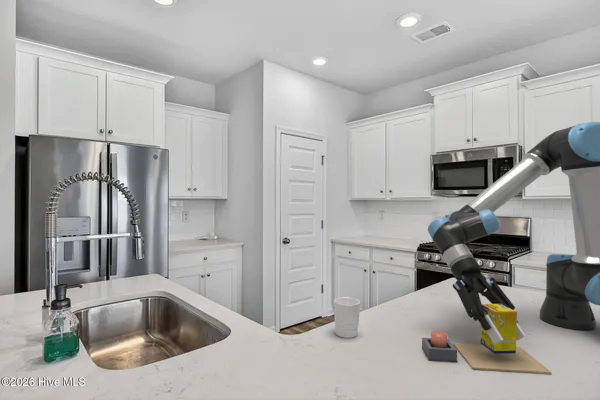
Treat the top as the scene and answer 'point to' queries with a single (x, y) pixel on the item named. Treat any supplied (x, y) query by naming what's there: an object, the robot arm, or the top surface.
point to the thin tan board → (500, 360)
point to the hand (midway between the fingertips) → (510, 340)
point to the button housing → (439, 351)
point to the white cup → (346, 316)
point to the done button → (438, 339)
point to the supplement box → (501, 328)
